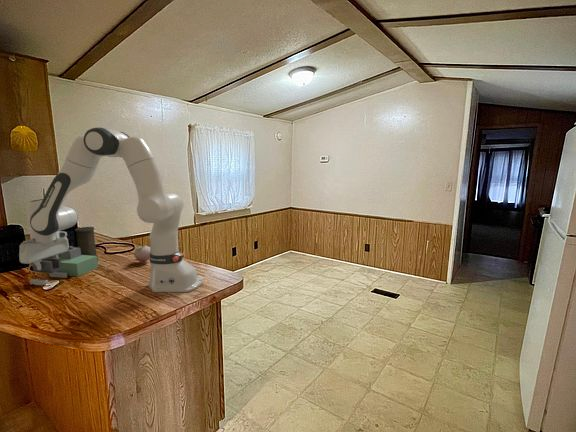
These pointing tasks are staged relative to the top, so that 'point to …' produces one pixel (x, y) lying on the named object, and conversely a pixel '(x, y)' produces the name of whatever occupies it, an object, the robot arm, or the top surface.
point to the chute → (48, 265)
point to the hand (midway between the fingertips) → (47, 267)
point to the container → (86, 241)
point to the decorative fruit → (142, 253)
